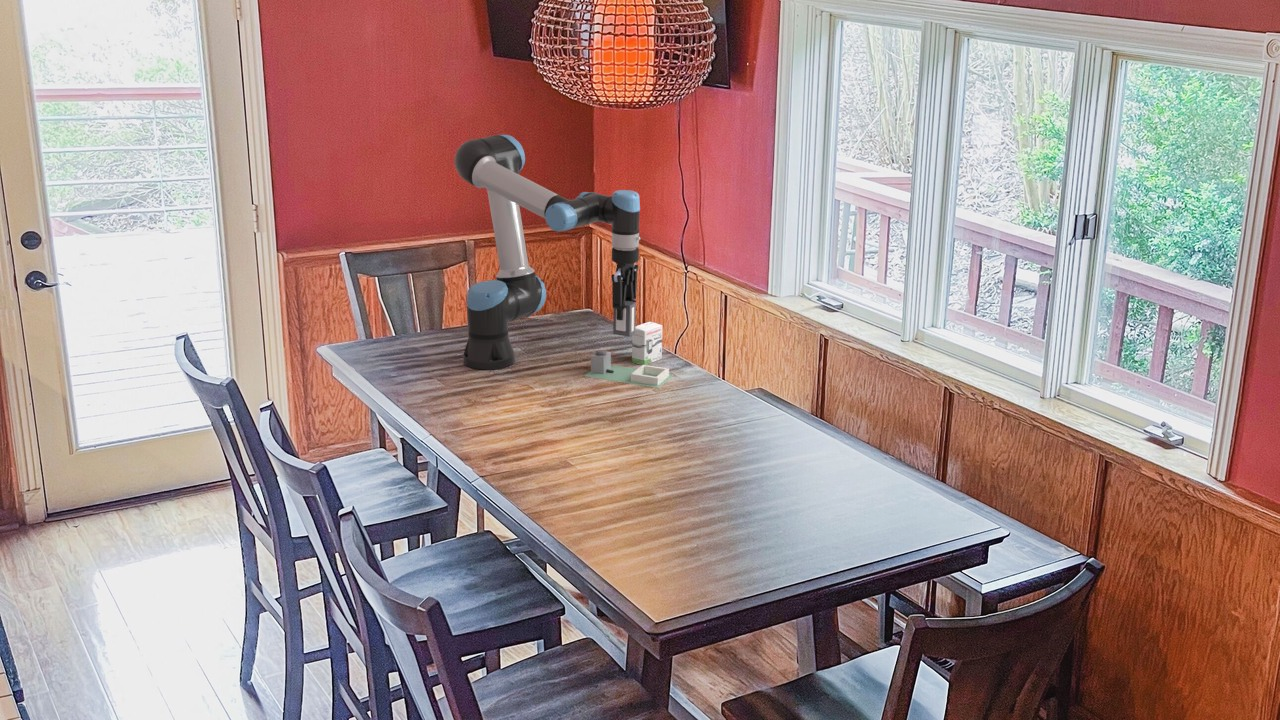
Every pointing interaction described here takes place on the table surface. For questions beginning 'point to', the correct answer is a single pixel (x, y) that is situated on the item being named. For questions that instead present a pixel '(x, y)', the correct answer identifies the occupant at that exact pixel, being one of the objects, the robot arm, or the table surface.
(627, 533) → the table surface
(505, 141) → the robot arm
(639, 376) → the white square frame
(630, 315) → the plug
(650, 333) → the ink box
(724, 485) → the table surface
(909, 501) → the table surface
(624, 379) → the board
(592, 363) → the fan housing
